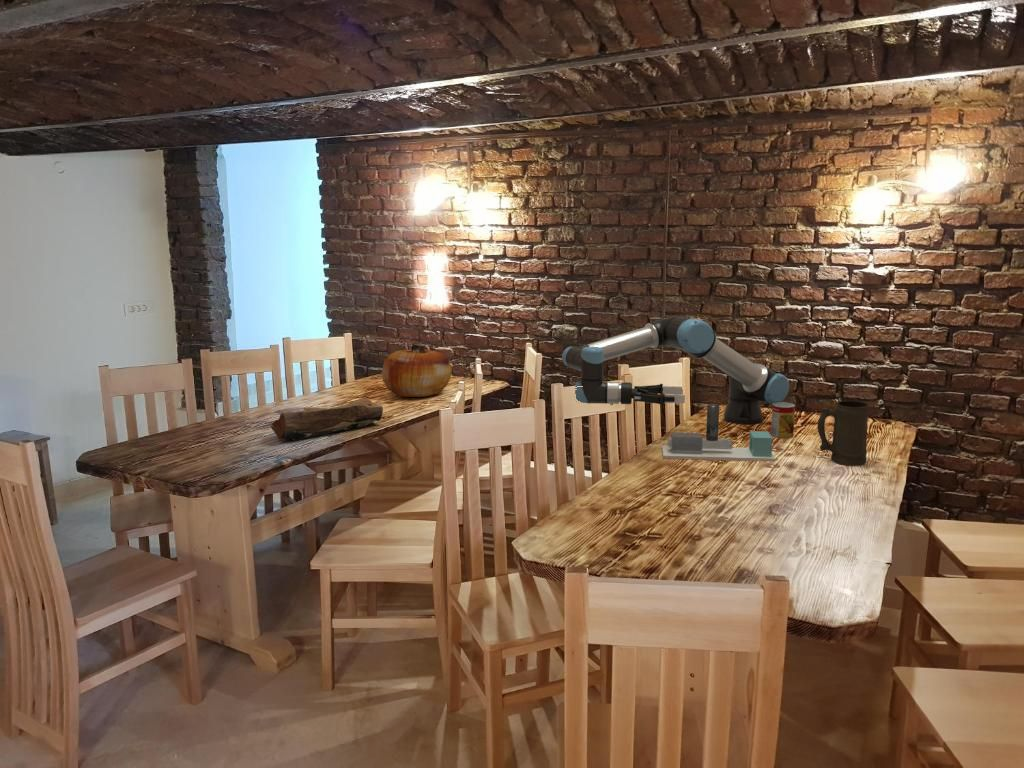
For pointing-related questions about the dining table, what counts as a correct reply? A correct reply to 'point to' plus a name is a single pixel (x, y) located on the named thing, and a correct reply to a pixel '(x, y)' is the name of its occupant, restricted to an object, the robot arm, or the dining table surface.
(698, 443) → the sleeve
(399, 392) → the pumpkin
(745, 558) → the dining table surface
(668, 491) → the dining table surface
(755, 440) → the socket
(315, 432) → the log
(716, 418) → the grey black upright frame
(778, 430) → the canned food
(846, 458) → the beer stein
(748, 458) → the baseboard
